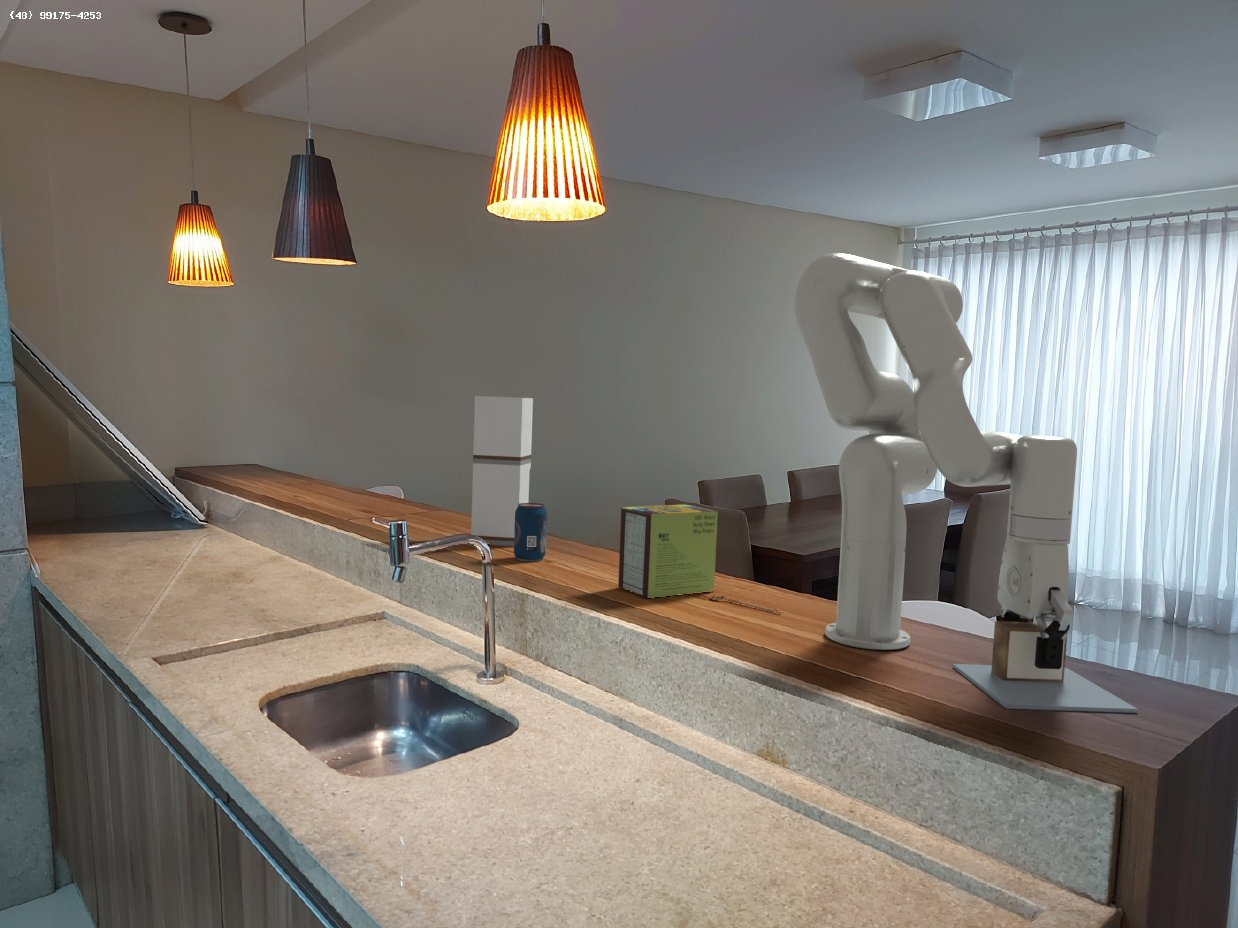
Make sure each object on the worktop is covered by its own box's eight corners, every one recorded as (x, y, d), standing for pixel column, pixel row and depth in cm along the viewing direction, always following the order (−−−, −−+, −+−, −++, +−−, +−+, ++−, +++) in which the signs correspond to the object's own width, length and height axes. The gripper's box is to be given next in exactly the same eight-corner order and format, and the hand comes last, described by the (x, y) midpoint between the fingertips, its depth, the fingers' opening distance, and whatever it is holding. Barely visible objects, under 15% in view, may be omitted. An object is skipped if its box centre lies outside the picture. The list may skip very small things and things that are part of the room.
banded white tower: (528, 539, 212) (533, 398, 210) (517, 546, 202) (522, 397, 199) (483, 536, 213) (487, 396, 211) (470, 543, 203) (474, 395, 200)
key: (793, 615, 148) (725, 598, 159) (793, 610, 148) (726, 593, 159) (773, 617, 144) (705, 599, 155) (773, 612, 144) (705, 594, 155)
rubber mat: (952, 667, 119) (952, 663, 119) (1066, 671, 119) (1066, 667, 119) (1006, 708, 103) (1006, 704, 103) (1137, 712, 103) (1137, 708, 103)
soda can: (512, 555, 189) (514, 502, 189) (543, 556, 191) (545, 502, 190) (514, 561, 183) (516, 506, 182) (546, 562, 184) (548, 506, 183)
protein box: (715, 592, 161) (719, 510, 160) (647, 599, 153) (651, 513, 152) (682, 581, 170) (685, 503, 169) (616, 587, 162) (619, 506, 160)
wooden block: (991, 671, 116) (994, 621, 115) (1049, 673, 116) (1053, 623, 116) (1004, 680, 112) (1008, 628, 112) (1064, 682, 112) (1068, 630, 112)
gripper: (981, 519, 121) (973, 637, 122) (1043, 538, 104) (1033, 676, 105) (1034, 521, 121) (1025, 639, 123) (1105, 541, 104) (1093, 678, 105)
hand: (1028, 656), depth 114 cm, fingers open, 9 cm apart
